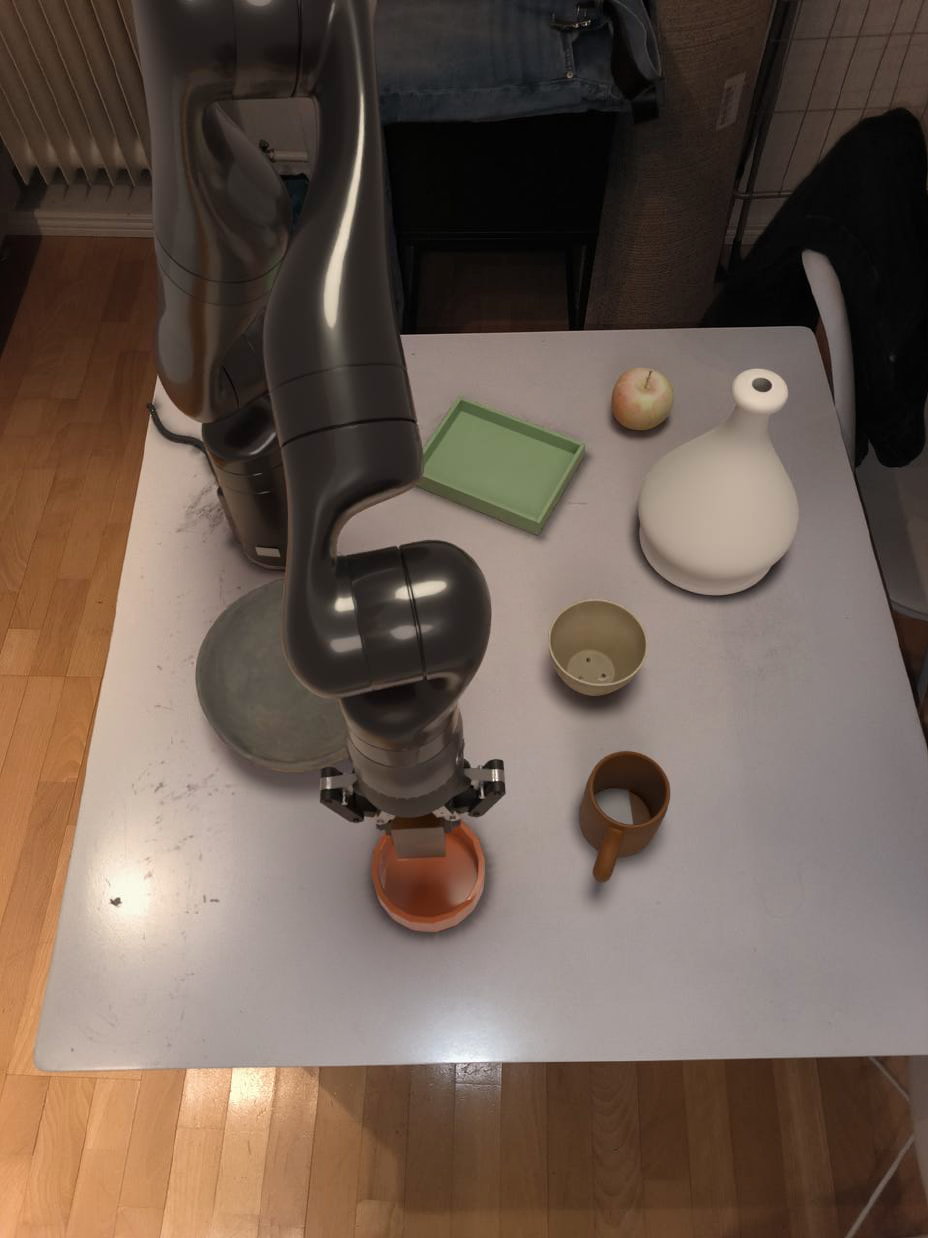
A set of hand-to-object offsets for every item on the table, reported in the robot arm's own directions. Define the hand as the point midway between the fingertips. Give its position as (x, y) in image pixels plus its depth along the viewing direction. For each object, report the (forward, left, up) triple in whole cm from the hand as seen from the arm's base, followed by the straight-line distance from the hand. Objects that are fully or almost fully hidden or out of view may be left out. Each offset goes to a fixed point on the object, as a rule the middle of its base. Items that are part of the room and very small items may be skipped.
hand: (418, 822), depth 78 cm
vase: (+10, +49, -17) cm, 53 cm away
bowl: (-20, +11, -17) cm, 28 cm away
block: (0, 0, -3) cm, 3 cm away
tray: (-16, +47, -17) cm, 52 cm away
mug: (+14, +11, -17) cm, 25 cm away
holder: (0, 0, -17) cm, 17 cm away
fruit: (-4, +62, -17) cm, 64 cm away
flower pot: (+5, +27, -17) cm, 32 cm away
